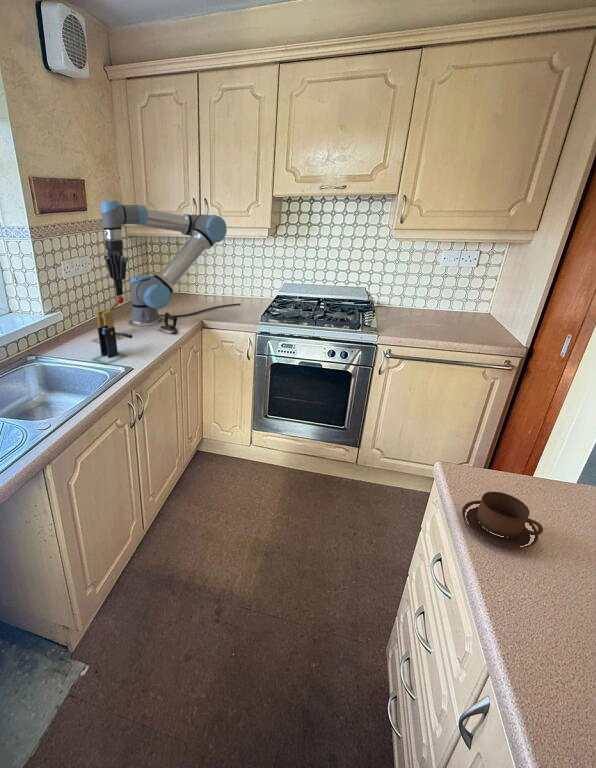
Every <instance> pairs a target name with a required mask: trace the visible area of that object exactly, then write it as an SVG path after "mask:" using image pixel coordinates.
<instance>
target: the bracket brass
mask: <svg viewBox="0 0 596 768" xmlns="http://www.w3.org/2000/svg"><path fill="white" fill-rule="evenodd" d="M104 311H105V312H106V313H103V312H104ZM102 313H103V319H104V320H103V319H102V318H101V316H100V315H101V314H102ZM96 316H97V317H96V318H97V323H98V324H97V325H98V327H102V326H105V325H108V328H110V327H115V326H114V317H113V310H112V311H110V312H107V310H106V309H103V310H100V311H99V310H98V311H96Z"/></svg>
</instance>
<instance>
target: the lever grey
mask: <svg viewBox="0 0 596 768" xmlns="http://www.w3.org/2000/svg"><path fill="white" fill-rule="evenodd" d="M104 329H106V328H103V329H102V334H104V335H105V331H104ZM115 334H116V336H118V337H119V336H121V337H124V338H128V339H132V338H133V335H132V334H129V333H126V332H117V331H115Z"/></svg>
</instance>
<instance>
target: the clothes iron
mask: <svg viewBox="0 0 596 768" xmlns="http://www.w3.org/2000/svg"><path fill="white" fill-rule="evenodd" d="M164 315H165V317H164V325H161V326H159V328H160V329H163V330H165V331H168V332H169V334H170V335H177V334H178V330H177V328H176V326H177V321H178V317H173V316H174V315H172V314H170V313H169V312H165V313H164ZM169 319H170V320H171V321H172V324H169Z"/></svg>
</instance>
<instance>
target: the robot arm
mask: <svg viewBox="0 0 596 768" xmlns="http://www.w3.org/2000/svg"><path fill="white" fill-rule="evenodd" d="M100 214H101V220H102V228H103V229H102V230H103V237H104V246H105V250H106V251H107V253H106V255H104V256H103V259H104V261H105V263H106V267H107V271H108V274H109V278H110V279H112V280H113V283H114V288H115V295H116V296H117V297H119V296H123V295H124V291H123V287H124V286H123V285H124V283H123V281H124V280H126V277H127V262H128V259H129V258H128V257H127V256H125V255H124V253H123V250H124V240H122V239H123V231H122V229H123V228H122V225H137V226H143V227H149V228H156V229H161V230H167V231H171V232H172V231H173V232H179V233H180V234H181V235H184V236H189V237H190V238H189V239H188V240H187V241H186V243H184V245H183V246H182V247H181V248H180V250H179V251H178V252H177V253H176V254H175V255H174V256H173V258H172V259H171V260H170V261H169V262H168V263H167V264H166V266H165V267H164V268H163V269H162V270H161V271H160V272H159V273H154V275H139V276H132V277H131V278H130V279H129V285H130V293H131V303H132V305H131V306H132V309H131V315H130V317H129V318H130V319H129V320H130V322H131V323H134V324H140V325H141V324H143V325H144V324H153V323H156V322H159V321H161V317H163V318H165V314H159V311H158V310H160V309H163V308H165V307H167V305H168V304H169V303H170V301H171V295H172V293H173V292H174V287H175V285H176V284H177V283H178V281H179V280H180V279H181V278H182V277H183V276H184V274H186V273H187V271H188V270H189V269H190V268H191V266H193V264H194V263H195V262H196V261H197V260H198V259H199V257H200V256H201V255H202V254H203V253H204V251H205V250H210V249H211V248H212V247H213V246H214V245H215V244H216V243H220V242H222V241H223V240H224V239H225V238H226V236H227V230H228V229H227V228H228V227H227V223H226V220H225V219H224V218H223V217H222V216H220V215H218V214H217V215H216V214H187V213H184V214H176V213H170V212H165V211H160V210H156V209H155V210H154V209H150V208H147V207H146V205H144V204H122V203H120V202H119V200H115V199H113V200H102V201H101V202H100ZM231 306H241V303H230V304H223V305H216V306H212V307H208V308H204V309H201V310H199V311H195V312H190V313H186V314H178V315H172V316H173V317H176V318H180V317H188V316H193V315H196V314H199V313H202V312H206V311H210V310H214V309H218V308H225V307H231Z"/></svg>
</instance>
